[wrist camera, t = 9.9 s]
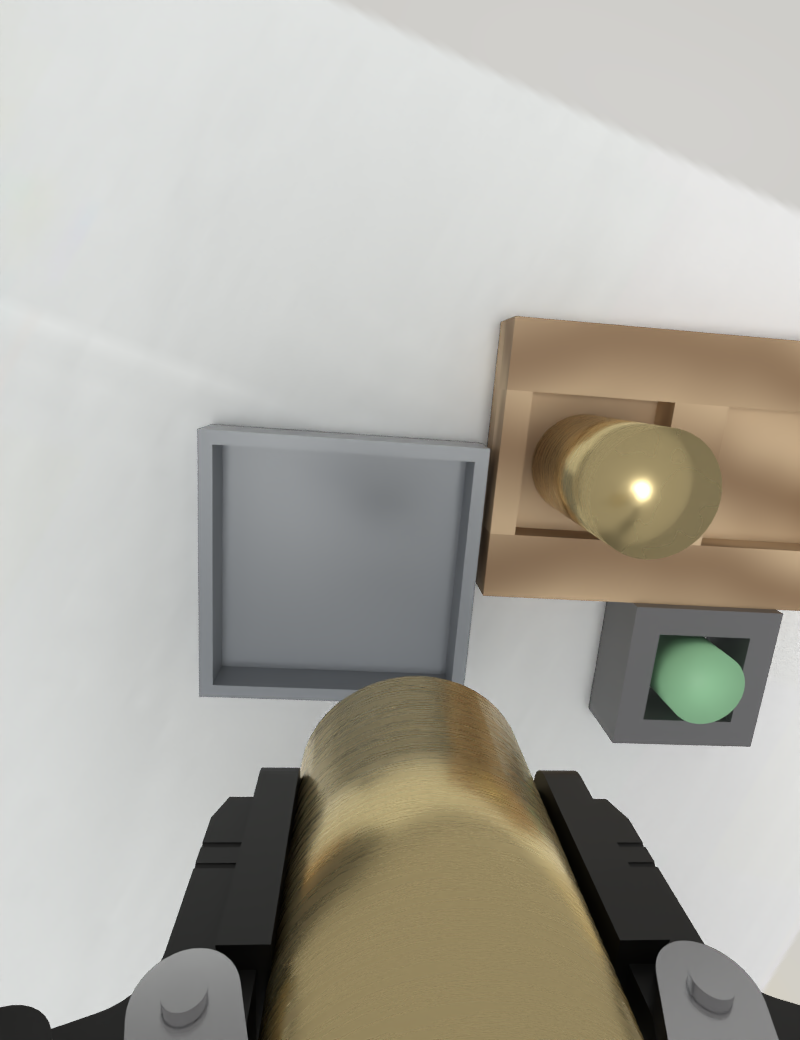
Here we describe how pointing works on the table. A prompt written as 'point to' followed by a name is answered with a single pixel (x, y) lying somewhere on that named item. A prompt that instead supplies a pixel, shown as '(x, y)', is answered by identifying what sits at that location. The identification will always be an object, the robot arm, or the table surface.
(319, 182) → the table surface
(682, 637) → the button
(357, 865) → the cylinder
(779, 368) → the tray
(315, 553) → the tray
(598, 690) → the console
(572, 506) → the cylinder
